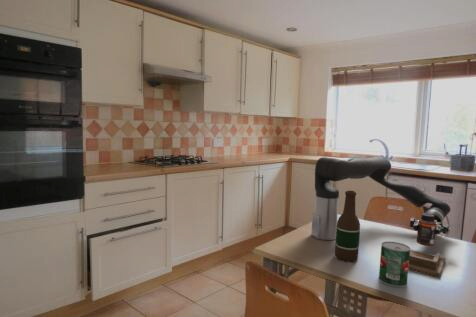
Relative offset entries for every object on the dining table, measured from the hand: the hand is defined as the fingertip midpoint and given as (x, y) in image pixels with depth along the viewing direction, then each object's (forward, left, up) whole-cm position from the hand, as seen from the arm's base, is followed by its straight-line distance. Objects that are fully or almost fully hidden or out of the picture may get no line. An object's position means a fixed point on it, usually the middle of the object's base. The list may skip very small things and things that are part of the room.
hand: (425, 230), depth 122 cm
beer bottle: (-31, +1, -10) cm, 33 cm away
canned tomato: (-26, -17, -10) cm, 33 cm away
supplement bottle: (+2, +2, -6) cm, 7 cm away
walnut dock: (-8, -7, -9) cm, 14 cm away
